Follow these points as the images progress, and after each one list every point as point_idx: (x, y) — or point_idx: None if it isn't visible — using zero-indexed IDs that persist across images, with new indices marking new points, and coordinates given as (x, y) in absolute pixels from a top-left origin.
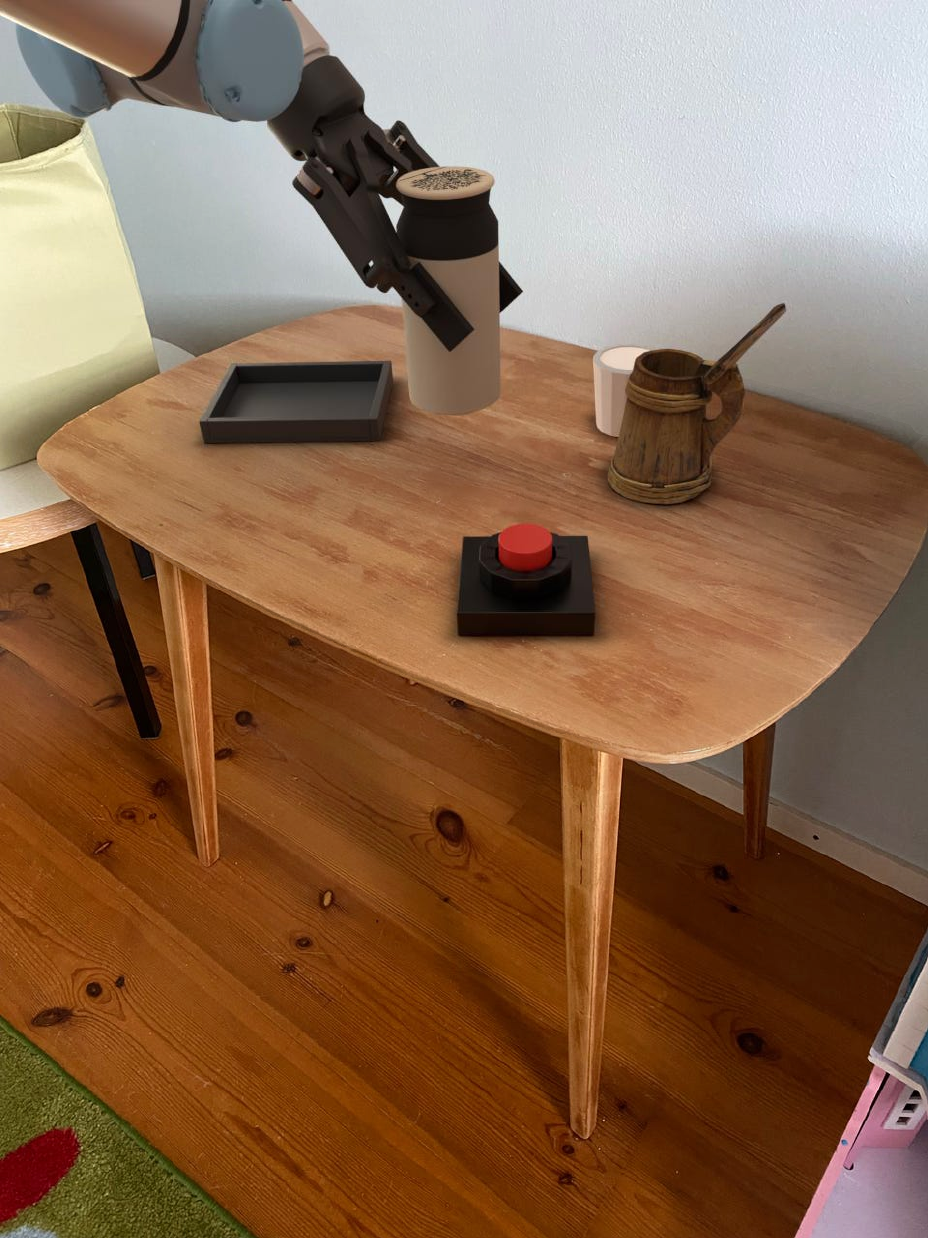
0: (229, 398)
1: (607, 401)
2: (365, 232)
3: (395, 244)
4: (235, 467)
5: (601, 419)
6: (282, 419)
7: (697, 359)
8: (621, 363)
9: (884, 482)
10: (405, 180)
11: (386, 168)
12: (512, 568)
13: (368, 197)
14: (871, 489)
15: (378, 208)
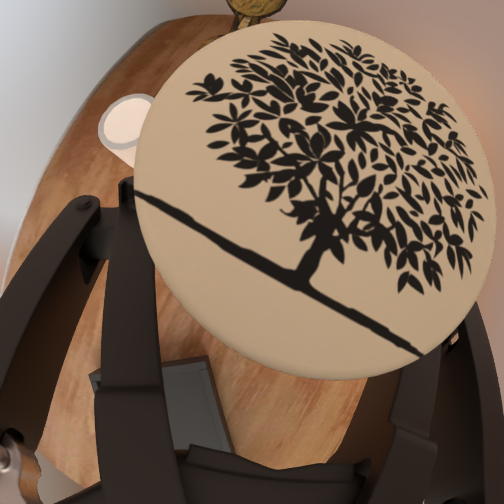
0: None
1: None
2: (484, 354)
3: None
4: (276, 448)
5: None
6: (225, 440)
7: (215, 39)
8: (137, 123)
9: (215, 23)
10: (412, 325)
11: (227, 476)
12: None
13: (430, 420)
14: (224, 27)
15: (423, 382)
